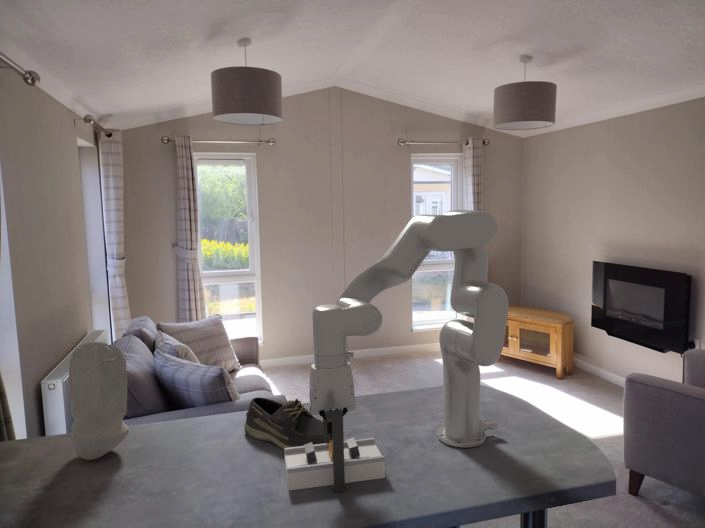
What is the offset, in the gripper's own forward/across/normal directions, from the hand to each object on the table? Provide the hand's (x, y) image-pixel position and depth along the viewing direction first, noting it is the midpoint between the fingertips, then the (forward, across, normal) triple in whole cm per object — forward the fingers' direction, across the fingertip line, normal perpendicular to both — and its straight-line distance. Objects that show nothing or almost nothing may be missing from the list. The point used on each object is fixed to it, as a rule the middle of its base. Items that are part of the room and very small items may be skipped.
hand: (334, 435), depth 118 cm
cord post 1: (+9, 0, -7) cm, 12 cm away
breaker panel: (+9, 0, 0) cm, 9 cm away
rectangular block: (+5, 0, 0) cm, 5 cm away
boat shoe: (+10, +9, -19) cm, 23 cm away
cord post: (+9, 0, +8) cm, 12 cm away
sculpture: (+9, +56, -22) cm, 61 cm away
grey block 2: (+5, -5, 0) cm, 7 cm away
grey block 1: (+5, +5, 0) cm, 7 cm away
